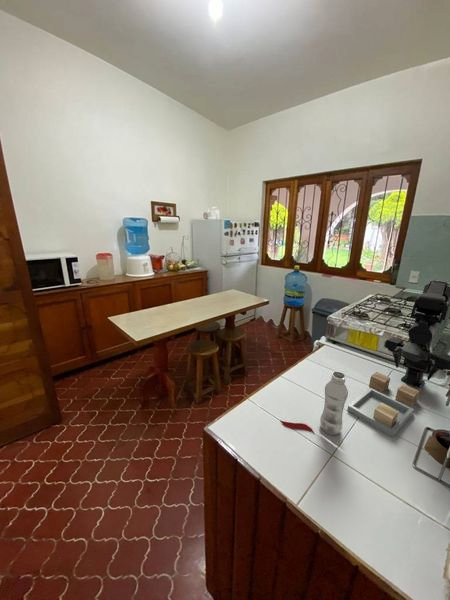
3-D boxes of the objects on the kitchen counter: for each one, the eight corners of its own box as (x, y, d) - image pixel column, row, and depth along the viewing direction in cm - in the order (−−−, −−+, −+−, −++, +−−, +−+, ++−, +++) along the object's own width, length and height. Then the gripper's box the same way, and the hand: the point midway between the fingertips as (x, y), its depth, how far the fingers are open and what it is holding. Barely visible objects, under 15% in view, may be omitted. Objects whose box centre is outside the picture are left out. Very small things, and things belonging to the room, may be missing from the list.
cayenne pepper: (318, 432, 77) (319, 427, 77) (313, 442, 74) (314, 437, 73) (283, 414, 84) (283, 410, 84) (277, 423, 81) (277, 418, 80)
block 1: (374, 382, 101) (376, 371, 99) (388, 388, 97) (390, 377, 96) (368, 386, 98) (370, 376, 97) (382, 393, 94) (384, 382, 93)
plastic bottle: (340, 424, 80) (349, 370, 74) (342, 441, 74) (352, 384, 68) (318, 419, 82) (326, 366, 76) (319, 435, 76) (327, 379, 70)
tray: (369, 393, 94) (370, 387, 94) (412, 415, 84) (413, 409, 83) (347, 411, 85) (348, 405, 85) (392, 438, 75) (393, 432, 74)
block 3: (400, 395, 93) (403, 383, 92) (416, 402, 90) (419, 391, 88) (394, 400, 91) (397, 389, 89) (410, 408, 87) (414, 396, 85)
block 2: (379, 414, 83) (381, 402, 82) (395, 424, 79) (399, 411, 78) (372, 421, 80) (374, 409, 79) (389, 431, 76) (392, 418, 75)
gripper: (381, 329, 84) (373, 369, 89) (451, 352, 70) (437, 397, 75) (395, 321, 91) (387, 359, 95) (462, 340, 76) (449, 383, 81)
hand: (412, 373), depth 86 cm, fingers open, 9 cm apart
